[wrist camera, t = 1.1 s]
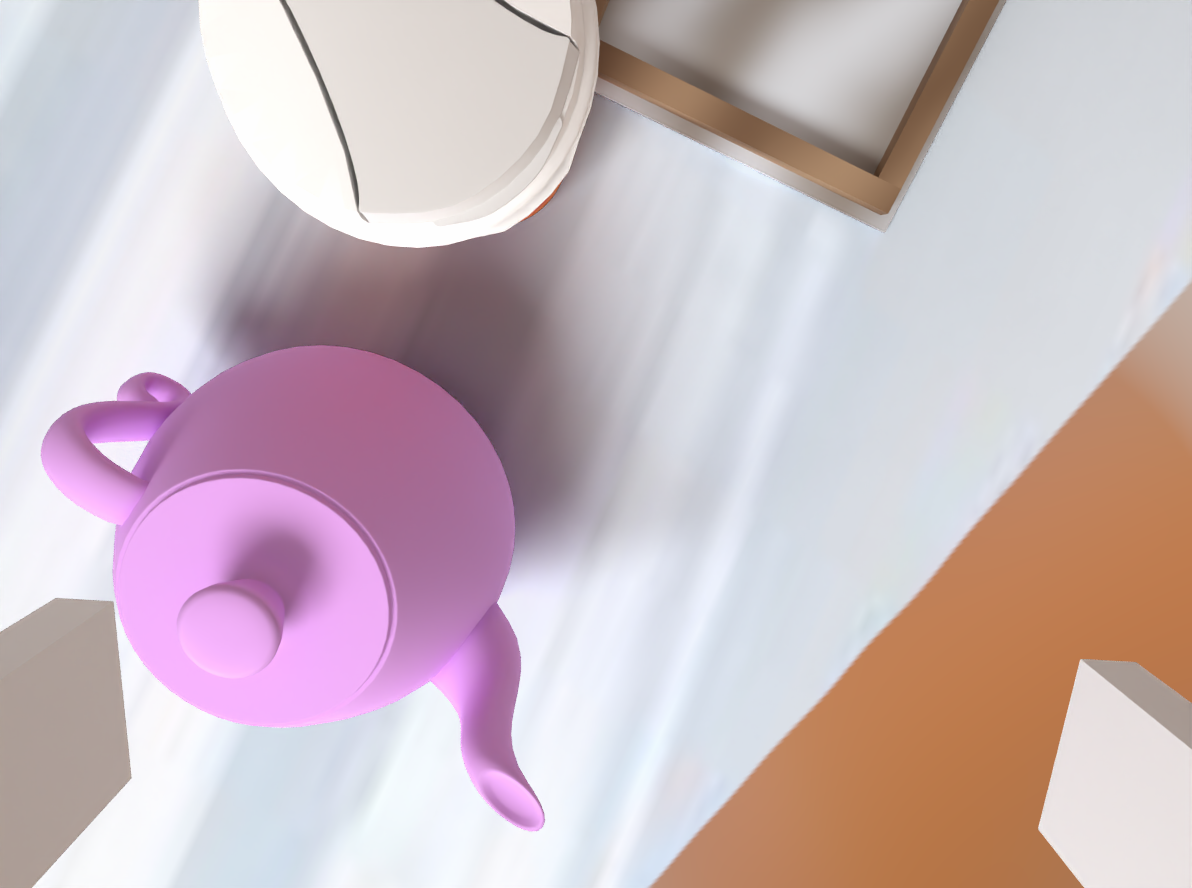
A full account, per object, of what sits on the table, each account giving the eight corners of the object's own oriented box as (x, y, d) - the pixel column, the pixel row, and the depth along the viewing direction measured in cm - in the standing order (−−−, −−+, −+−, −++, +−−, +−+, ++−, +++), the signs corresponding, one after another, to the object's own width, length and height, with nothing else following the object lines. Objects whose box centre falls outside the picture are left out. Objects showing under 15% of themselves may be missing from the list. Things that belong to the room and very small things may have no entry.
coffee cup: (344, 124, 28) (77, -27, 14) (510, -18, 27) (411, -347, 13) (479, 300, 30) (368, 332, 15) (641, 173, 29) (688, 78, 14)
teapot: (654, 526, 32) (688, 676, 20) (466, 743, 35) (401, 987, 23) (273, 235, 29) (55, 213, 17) (99, 496, 32) (-193, 631, 20)
